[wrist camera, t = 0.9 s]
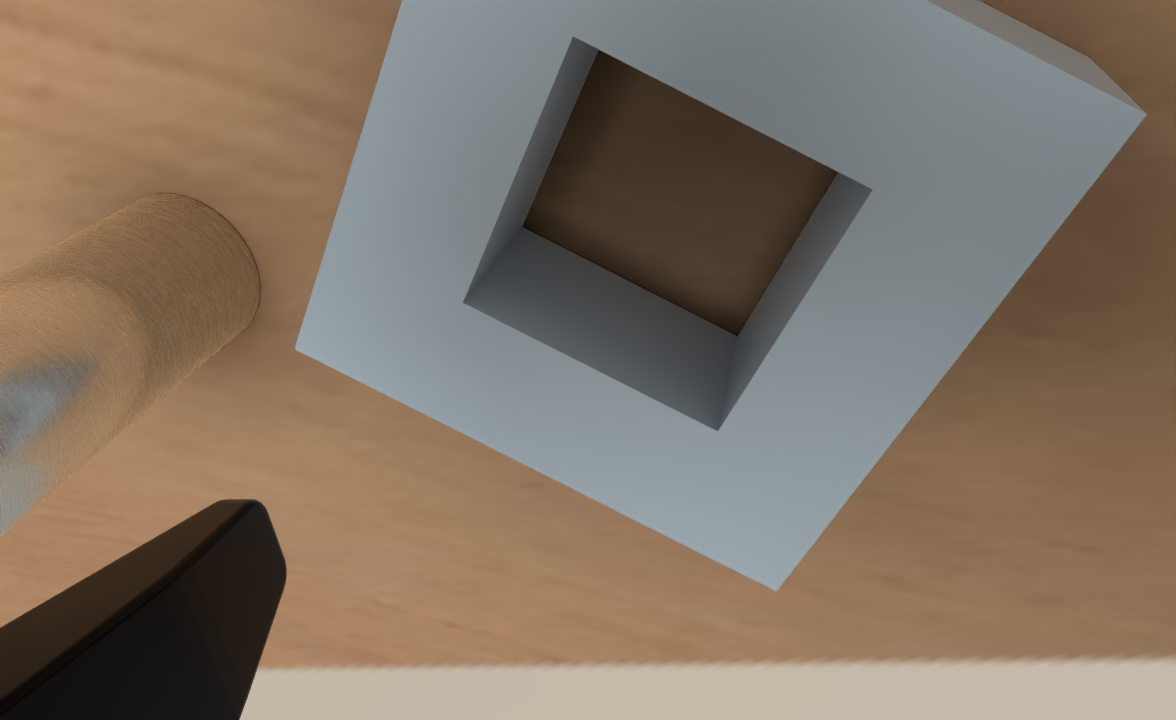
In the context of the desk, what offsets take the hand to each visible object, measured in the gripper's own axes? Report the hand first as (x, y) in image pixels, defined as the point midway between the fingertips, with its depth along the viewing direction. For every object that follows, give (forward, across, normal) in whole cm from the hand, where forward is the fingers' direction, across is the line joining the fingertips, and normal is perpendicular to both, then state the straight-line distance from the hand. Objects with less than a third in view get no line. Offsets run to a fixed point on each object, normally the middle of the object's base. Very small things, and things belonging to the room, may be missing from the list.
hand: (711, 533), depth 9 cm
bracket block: (+13, +1, +1) cm, 13 cm away
